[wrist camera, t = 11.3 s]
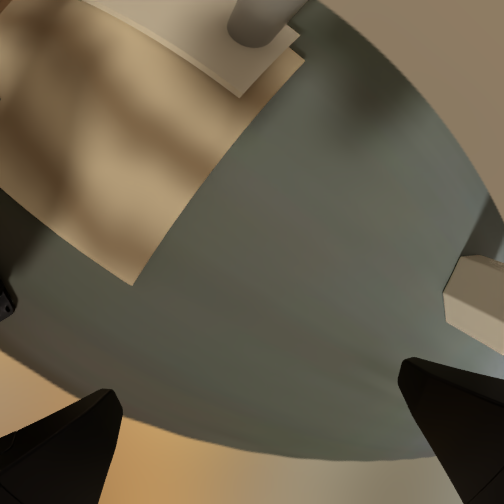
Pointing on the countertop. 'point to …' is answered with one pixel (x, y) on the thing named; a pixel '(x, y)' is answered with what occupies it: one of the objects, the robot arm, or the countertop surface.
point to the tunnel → (4, 4)
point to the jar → (477, 300)
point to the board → (111, 127)
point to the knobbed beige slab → (215, 33)
